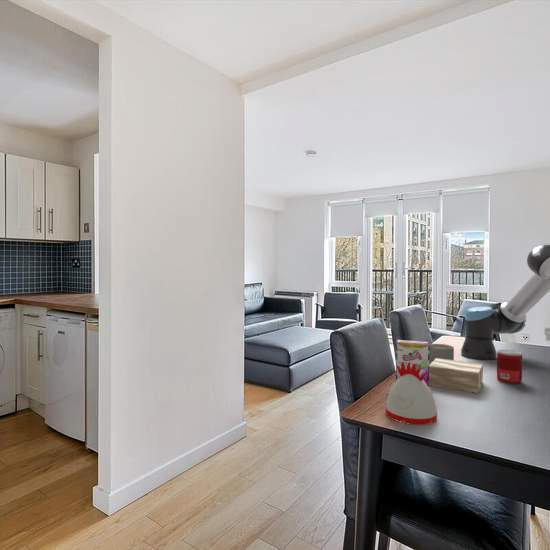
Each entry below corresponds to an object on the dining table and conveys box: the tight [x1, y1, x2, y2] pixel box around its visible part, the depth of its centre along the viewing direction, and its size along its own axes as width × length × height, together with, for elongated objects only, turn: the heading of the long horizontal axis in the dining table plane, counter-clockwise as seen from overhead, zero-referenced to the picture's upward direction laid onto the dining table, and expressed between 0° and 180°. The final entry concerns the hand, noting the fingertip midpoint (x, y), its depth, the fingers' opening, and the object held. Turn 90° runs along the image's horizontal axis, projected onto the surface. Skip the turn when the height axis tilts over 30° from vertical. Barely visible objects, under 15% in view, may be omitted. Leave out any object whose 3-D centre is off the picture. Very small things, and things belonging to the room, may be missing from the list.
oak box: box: [429, 358, 484, 394], centre depth 136 cm, size 14×16×7 cm
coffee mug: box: [429, 343, 455, 365], centre depth 155 cm, size 13×10×10 cm
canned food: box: [496, 349, 523, 385], centre depth 140 cm, size 8×8×11 cm
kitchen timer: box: [385, 362, 438, 426], centre depth 107 cm, size 14×14×15 cm
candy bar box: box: [394, 339, 430, 388], centre depth 131 cm, size 11×5×16 cm, turn 71°
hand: (545, 333), depth 133 cm, fingers open, 13 cm apart
